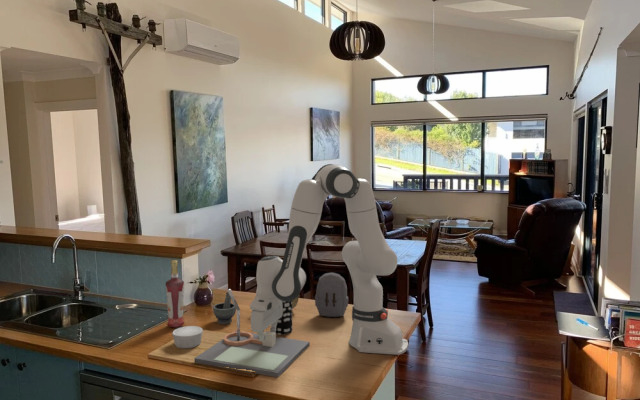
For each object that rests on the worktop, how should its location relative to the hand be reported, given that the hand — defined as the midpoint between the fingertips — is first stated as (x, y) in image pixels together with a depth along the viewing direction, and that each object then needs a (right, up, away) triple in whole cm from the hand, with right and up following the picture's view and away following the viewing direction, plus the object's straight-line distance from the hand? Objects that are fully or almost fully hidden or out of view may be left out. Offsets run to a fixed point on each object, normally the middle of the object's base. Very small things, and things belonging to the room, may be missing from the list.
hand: (267, 336), depth 179 cm
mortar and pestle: (-22, -2, +31) cm, 38 cm away
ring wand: (-7, -3, +4) cm, 9 cm away
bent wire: (-13, -4, +3) cm, 14 cm away
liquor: (-41, -3, +24) cm, 48 cm away
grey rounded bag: (+24, -2, +37) cm, 44 cm away
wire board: (-4, -5, -3) cm, 8 cm away
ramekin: (-31, -5, +6) cm, 32 cm away
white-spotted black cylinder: (+4, -4, +19) cm, 20 cm away
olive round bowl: (+1, -1, +44) cm, 44 cm away
